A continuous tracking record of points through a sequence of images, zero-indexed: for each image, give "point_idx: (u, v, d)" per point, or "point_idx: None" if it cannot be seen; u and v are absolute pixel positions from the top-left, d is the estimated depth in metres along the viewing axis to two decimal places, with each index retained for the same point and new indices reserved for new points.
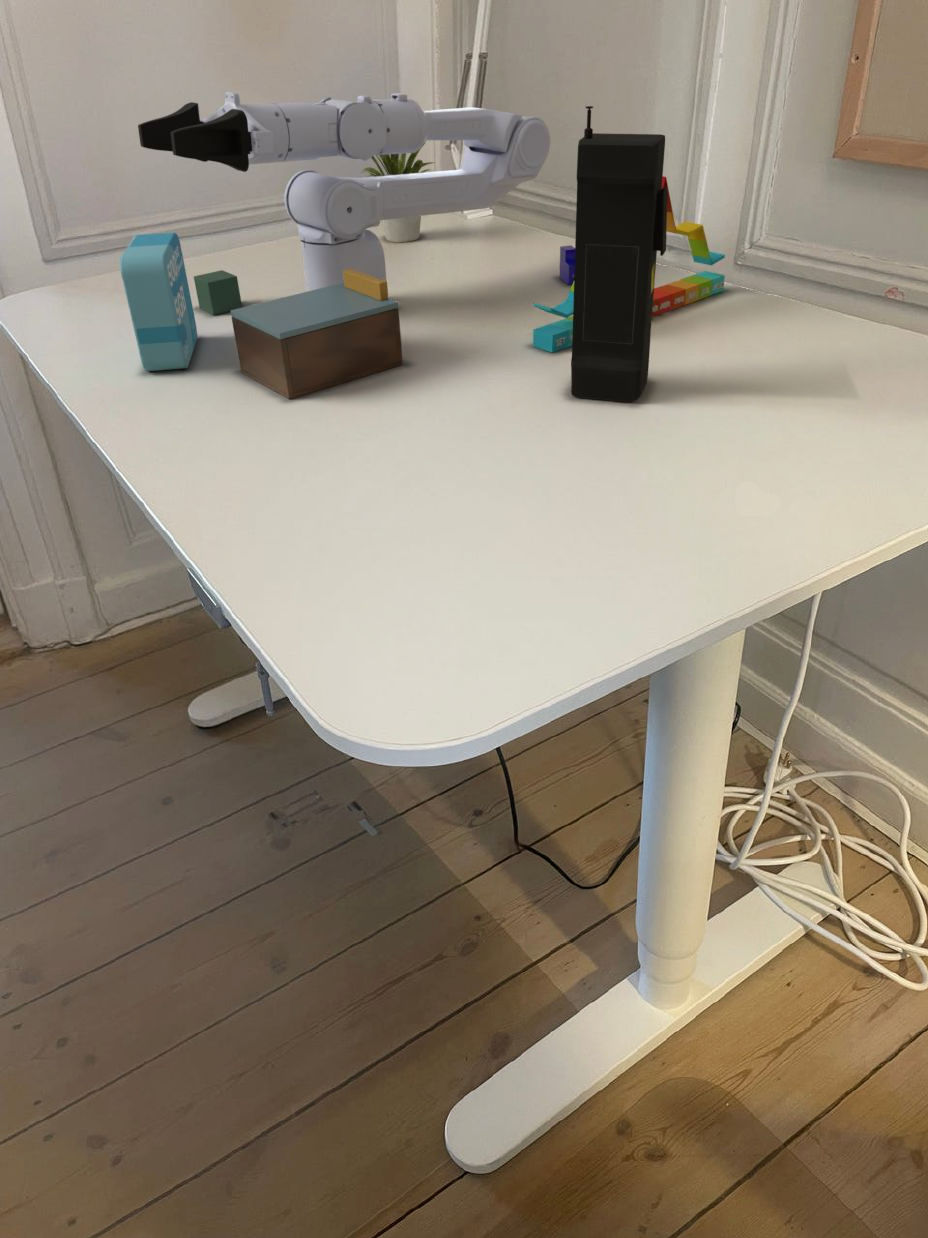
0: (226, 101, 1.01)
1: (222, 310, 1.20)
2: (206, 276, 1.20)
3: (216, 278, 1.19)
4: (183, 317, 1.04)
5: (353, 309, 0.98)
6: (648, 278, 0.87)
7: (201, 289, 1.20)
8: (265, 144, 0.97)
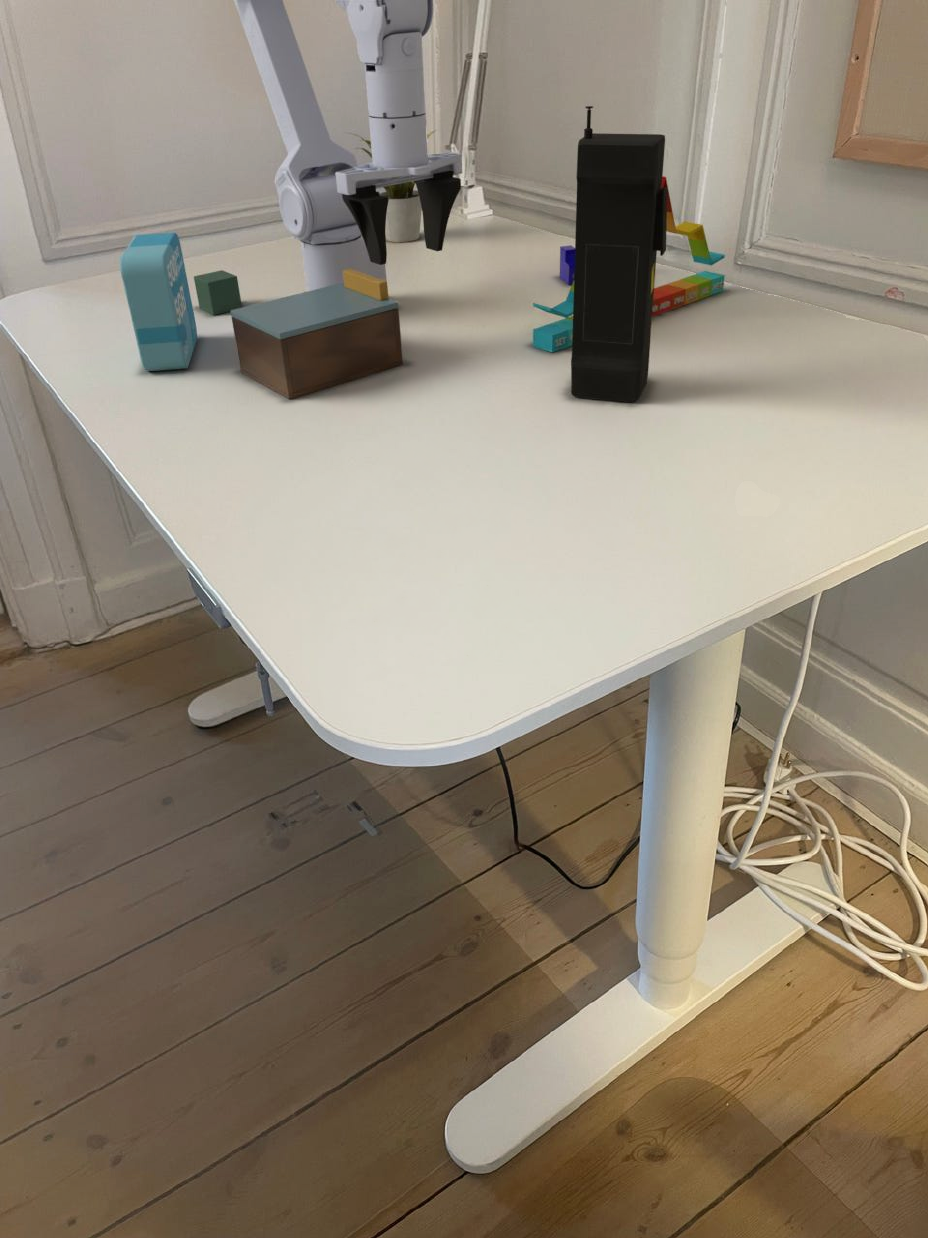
0: None
1: (222, 310, 1.20)
2: (206, 276, 1.20)
3: (216, 278, 1.19)
4: (183, 317, 1.04)
5: (353, 309, 0.98)
6: (648, 278, 0.87)
7: (201, 289, 1.20)
8: None
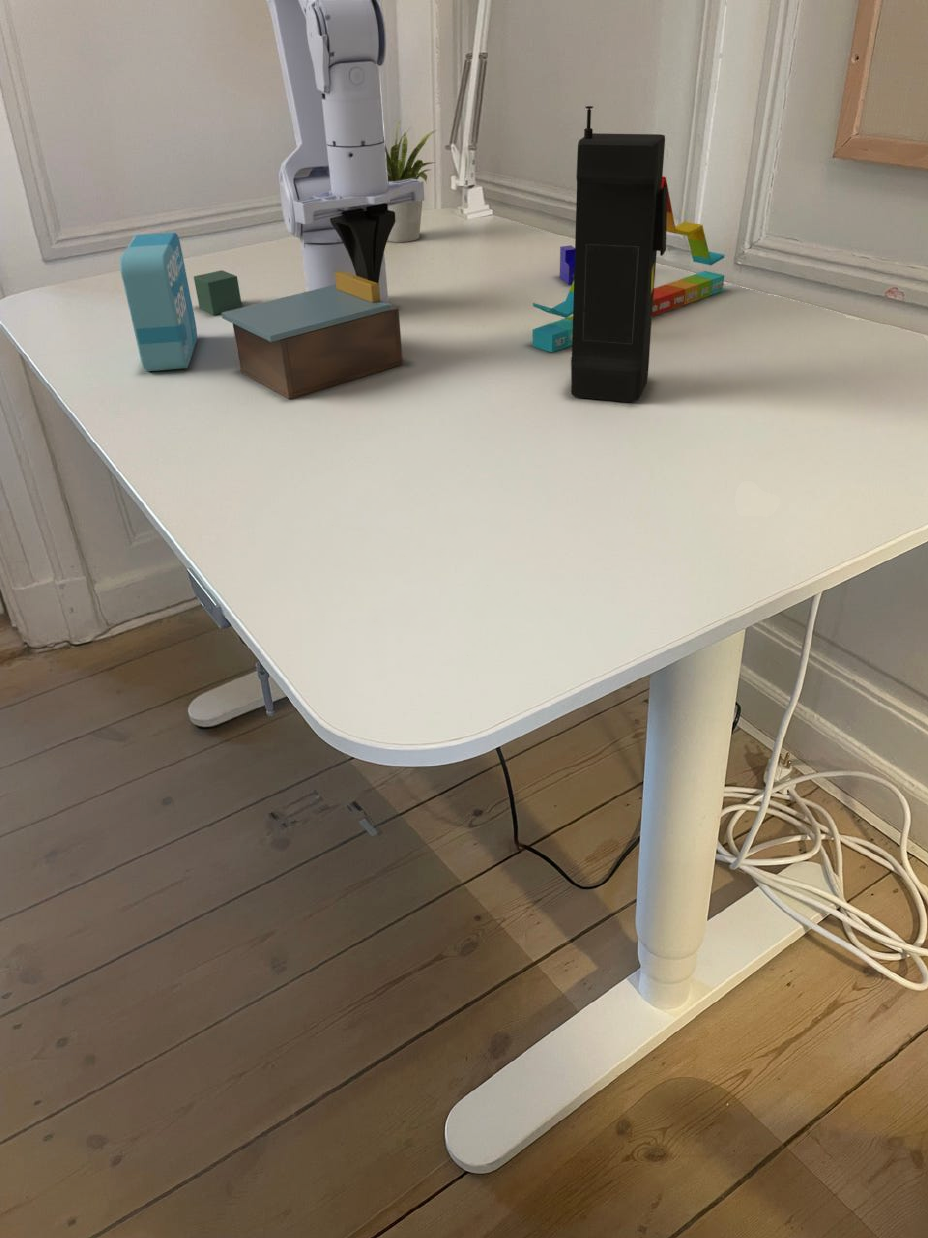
0: None
1: (222, 310, 1.20)
2: (206, 276, 1.20)
3: (216, 278, 1.19)
4: (183, 317, 1.04)
5: (345, 311, 0.97)
6: (648, 278, 0.87)
7: (201, 289, 1.20)
8: None
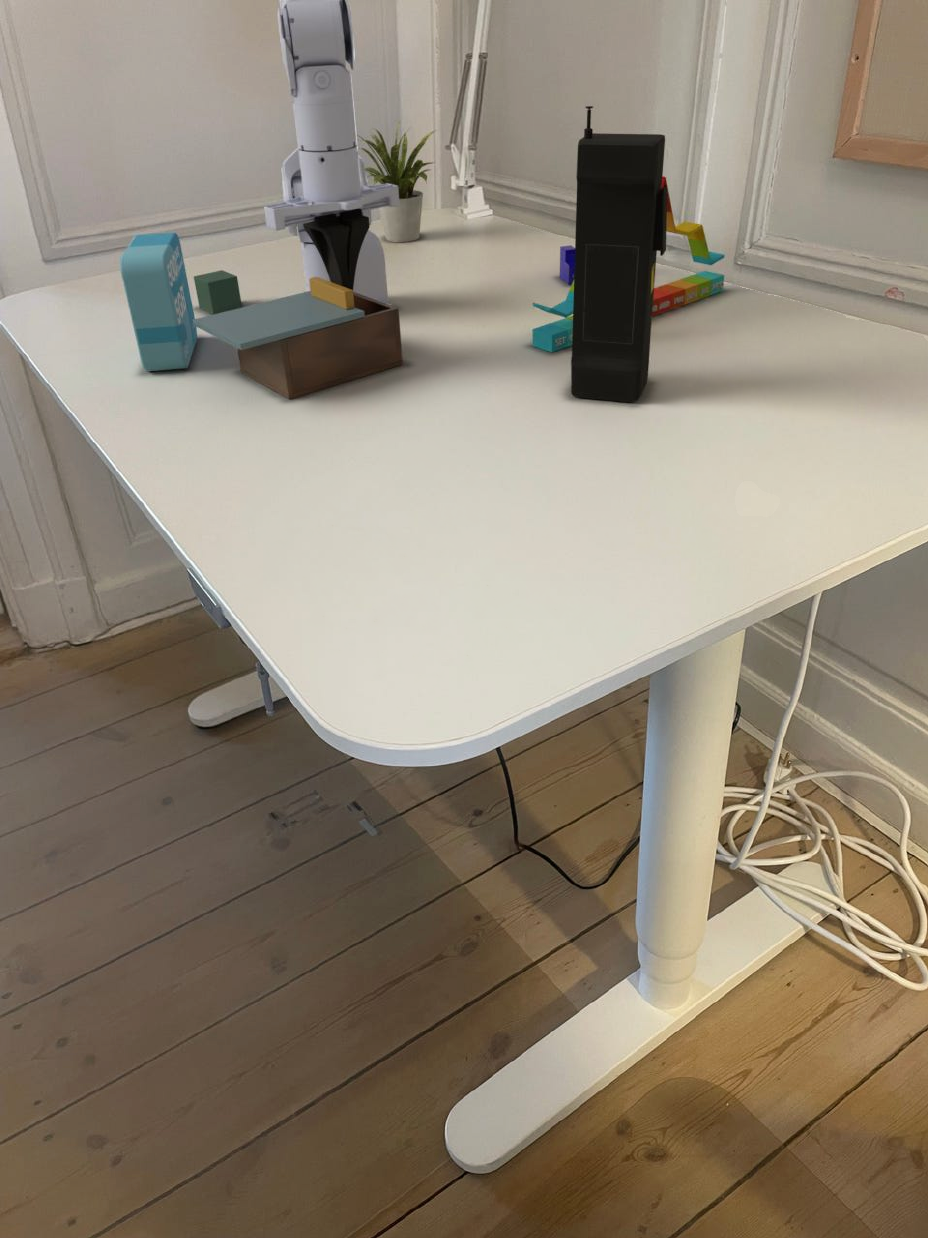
0: (344, 208, 0.93)
1: (222, 310, 1.20)
2: (206, 276, 1.20)
3: (216, 278, 1.19)
4: (183, 317, 1.04)
5: (317, 318, 0.96)
6: (648, 278, 0.87)
7: (201, 289, 1.20)
8: None
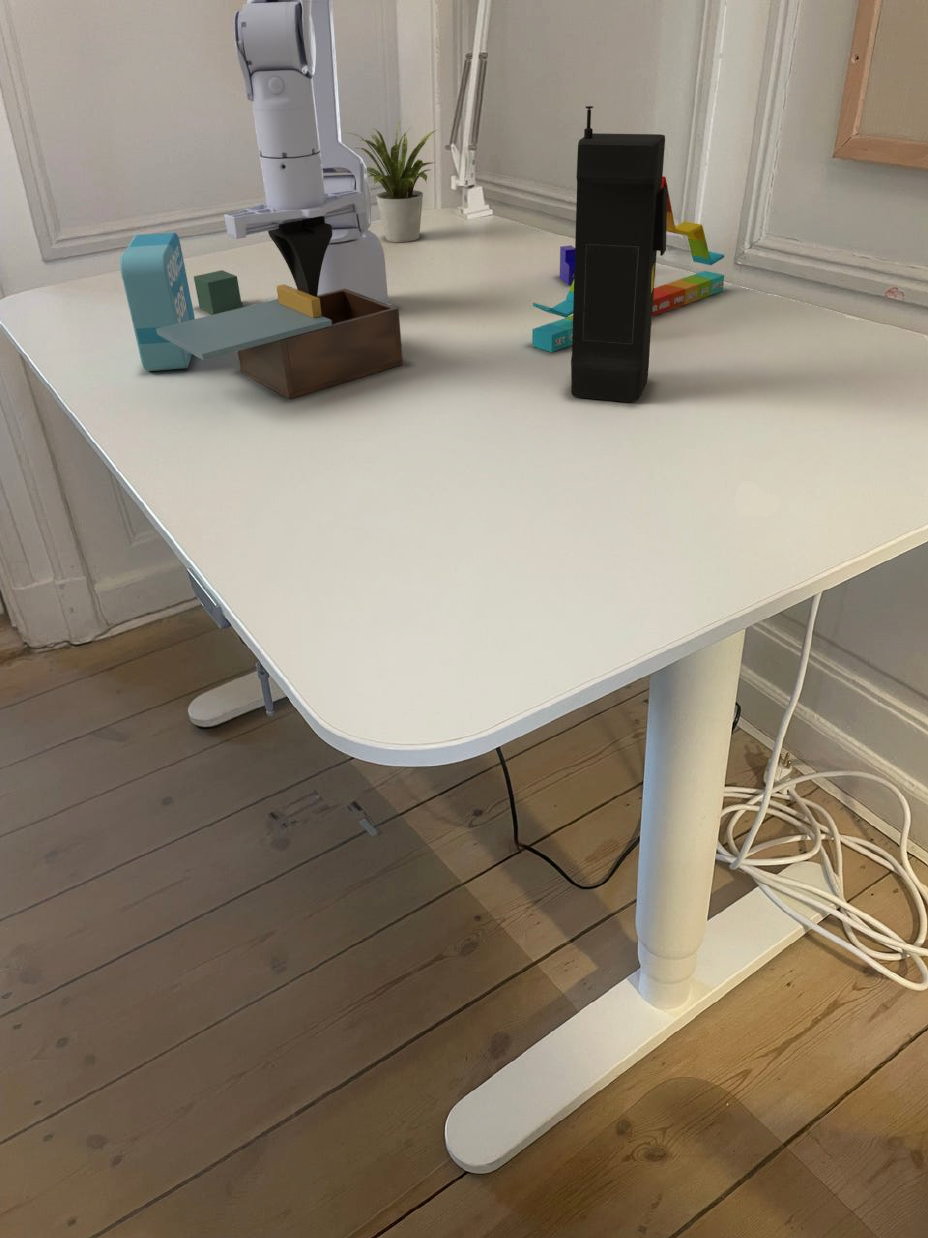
0: None
1: (222, 310, 1.20)
2: (206, 276, 1.20)
3: (216, 278, 1.19)
4: (183, 317, 1.04)
5: (283, 327, 0.94)
6: (648, 278, 0.87)
7: (201, 289, 1.20)
8: None
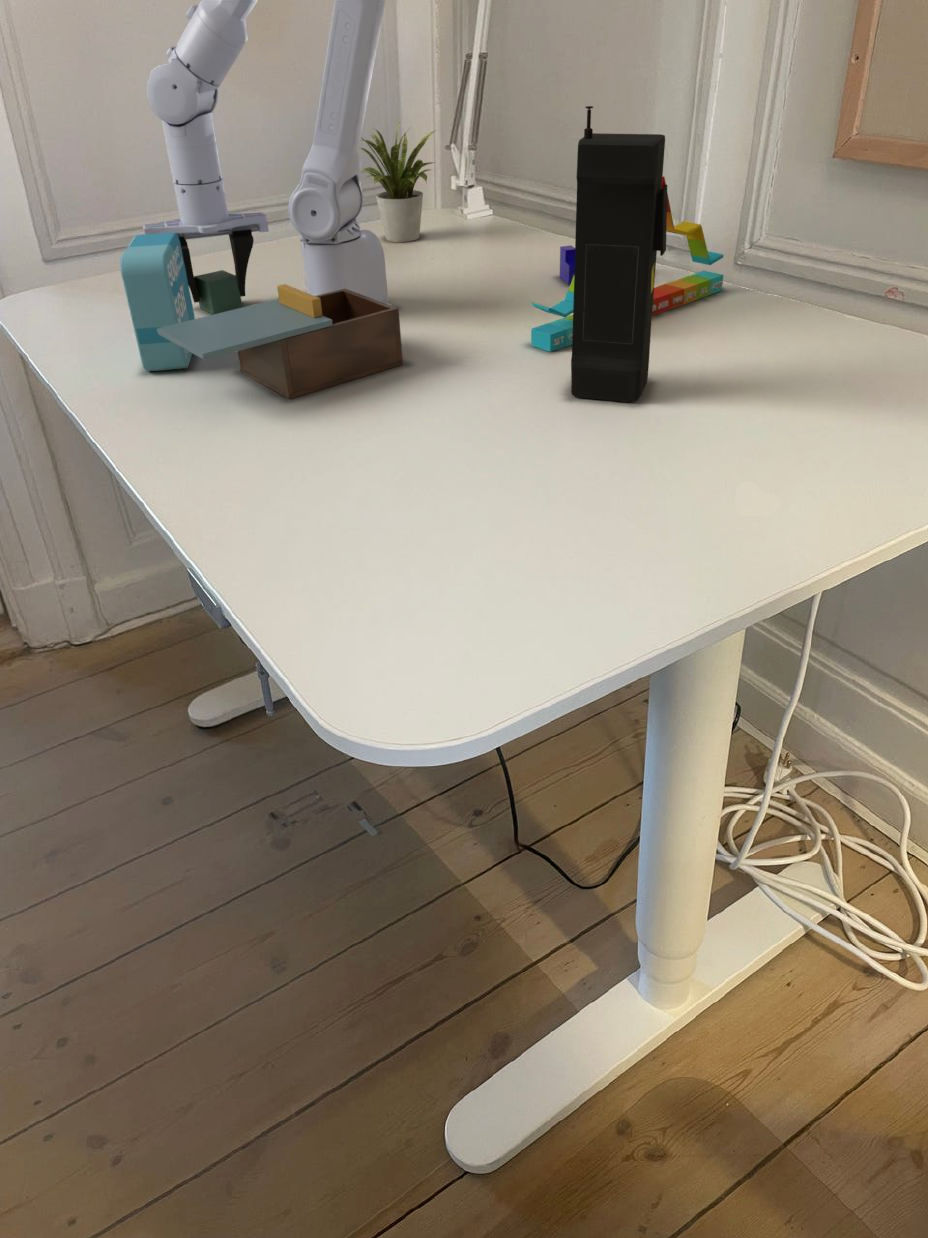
0: None
1: (222, 310, 1.20)
2: (206, 276, 1.20)
3: (216, 278, 1.19)
4: (183, 317, 1.04)
5: (284, 327, 0.94)
6: (648, 278, 0.87)
7: (201, 289, 1.20)
8: None
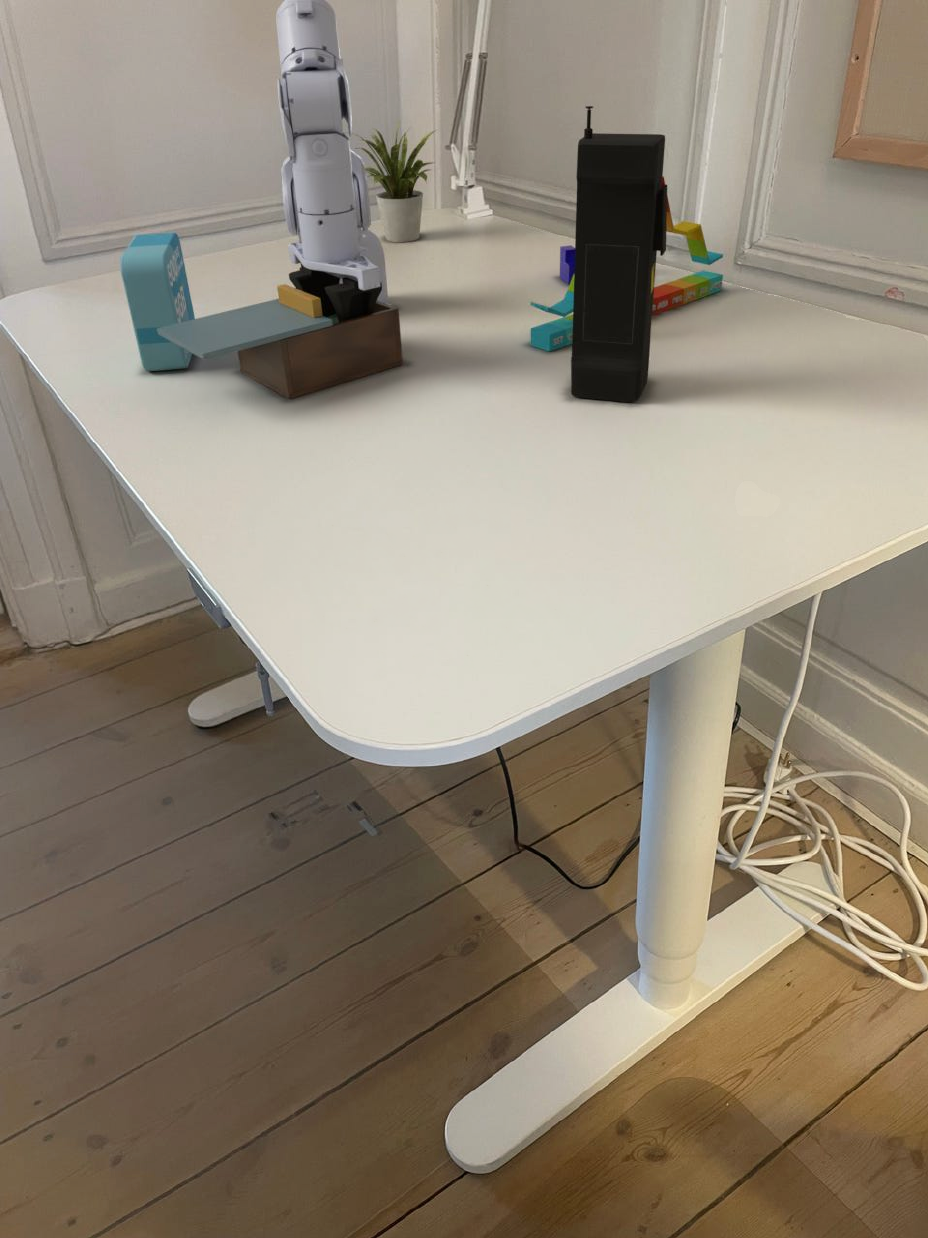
0: None
1: None
2: None
3: None
4: (183, 317, 1.04)
5: (284, 327, 0.94)
6: (648, 278, 0.87)
7: None
8: None
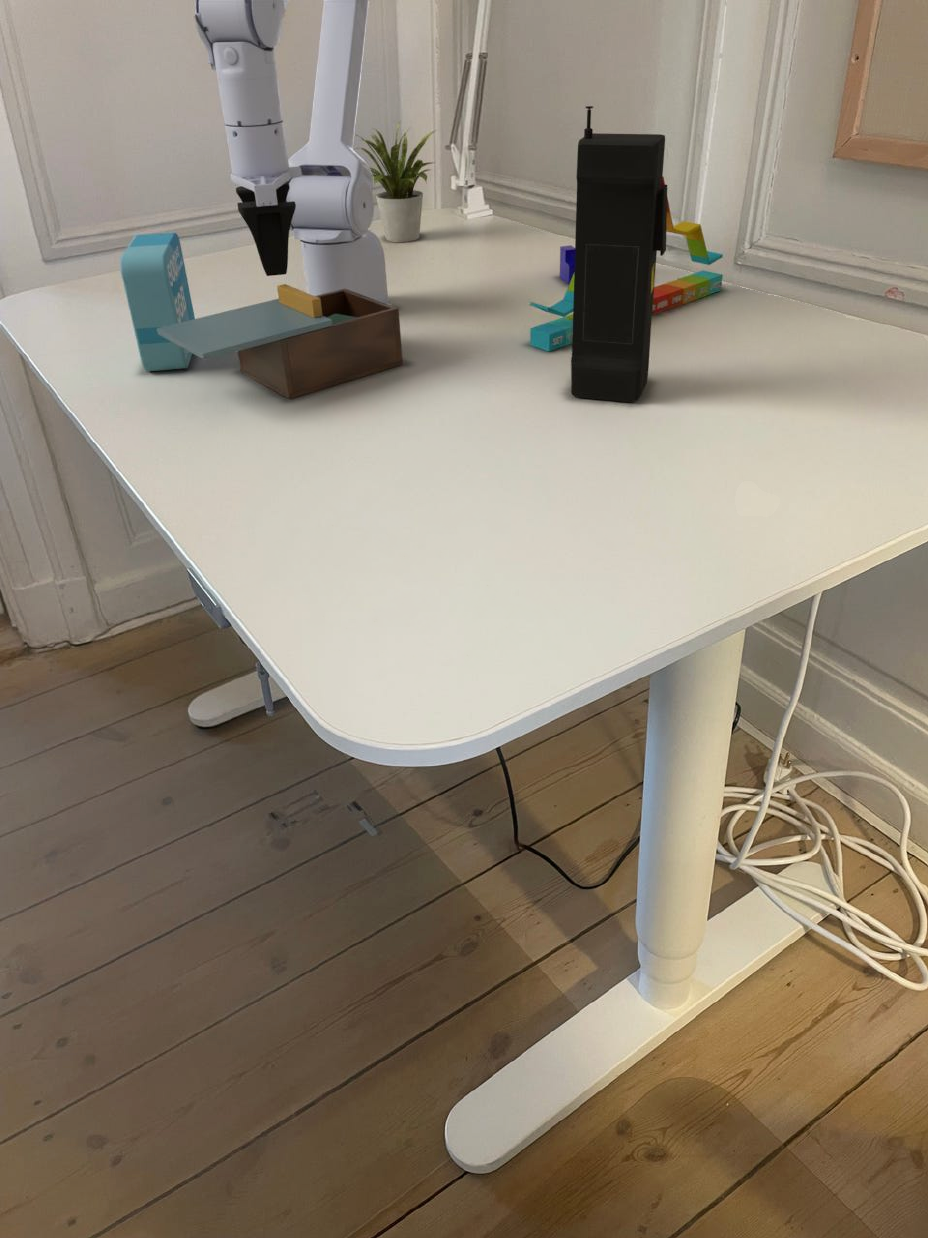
0: (293, 176, 0.97)
1: None
2: None
3: (347, 318, 1.02)
4: (183, 317, 1.04)
5: (284, 327, 0.94)
6: (648, 278, 0.87)
7: None
8: None
